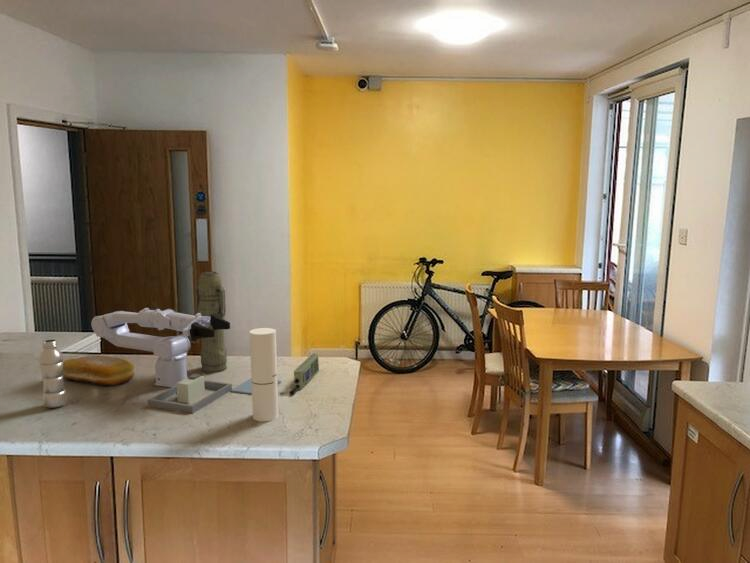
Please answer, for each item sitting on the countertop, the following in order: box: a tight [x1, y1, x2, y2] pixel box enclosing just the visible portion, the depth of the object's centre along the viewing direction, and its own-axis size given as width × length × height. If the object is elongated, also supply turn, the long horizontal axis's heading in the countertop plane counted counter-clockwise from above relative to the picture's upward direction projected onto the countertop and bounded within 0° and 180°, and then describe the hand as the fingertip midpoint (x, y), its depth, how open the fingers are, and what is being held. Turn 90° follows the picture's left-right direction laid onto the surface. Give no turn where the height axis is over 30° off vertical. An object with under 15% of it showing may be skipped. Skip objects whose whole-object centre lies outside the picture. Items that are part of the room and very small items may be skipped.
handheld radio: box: [289, 353, 320, 396], centre depth 188 cm, size 7×3×25 cm
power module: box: [176, 373, 206, 404], centre depth 174 cm, size 4×8×7 cm, turn 161°
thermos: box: [195, 271, 228, 374], centre depth 199 cm, size 9×12×35 cm
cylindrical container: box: [249, 327, 279, 422], centre depth 159 cm, size 7×7×25 cm
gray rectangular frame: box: [147, 379, 233, 414], centre depth 175 cm, size 16×20×2 cm
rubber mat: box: [230, 377, 282, 396], centre depth 184 cm, size 11×13×1 cm
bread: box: [63, 354, 135, 387], centre depth 191 cm, size 13×26×8 cm, turn 70°
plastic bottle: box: [38, 339, 68, 409], centre depth 167 cm, size 6×7×20 cm
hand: (221, 329), depth 177 cm, fingers open, 7 cm apart
